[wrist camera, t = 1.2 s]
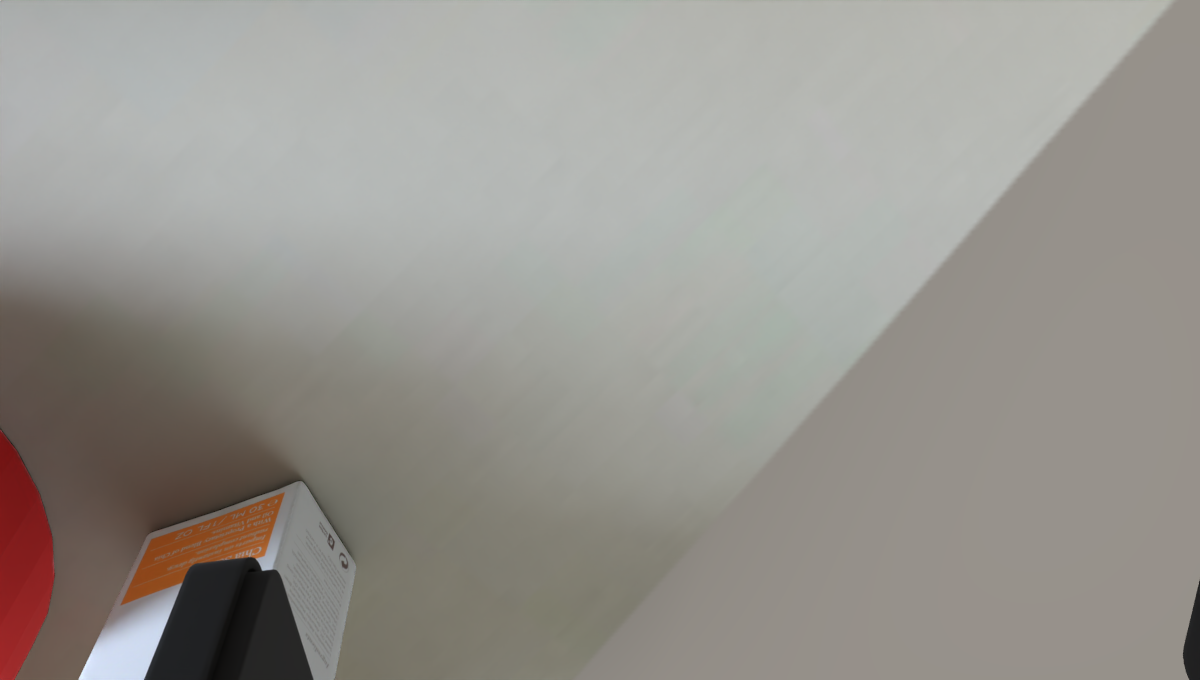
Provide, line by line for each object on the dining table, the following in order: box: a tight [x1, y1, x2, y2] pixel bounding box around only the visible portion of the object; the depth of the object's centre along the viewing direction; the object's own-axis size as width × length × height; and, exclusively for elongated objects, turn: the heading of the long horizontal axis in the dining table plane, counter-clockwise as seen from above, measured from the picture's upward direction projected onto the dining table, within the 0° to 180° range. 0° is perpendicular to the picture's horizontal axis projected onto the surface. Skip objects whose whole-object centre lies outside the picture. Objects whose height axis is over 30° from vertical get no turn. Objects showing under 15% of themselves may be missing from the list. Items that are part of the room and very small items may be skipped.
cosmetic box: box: [79, 481, 356, 680], centre depth 31 cm, size 6×4×12 cm
